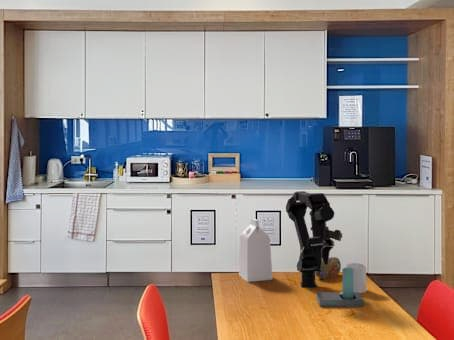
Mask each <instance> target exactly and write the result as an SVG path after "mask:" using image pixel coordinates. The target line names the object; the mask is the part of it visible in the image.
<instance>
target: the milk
mask: <svg viewBox="0 0 454 340" xmlns="http://www.w3.org/2000/svg"><path fill="white" fill-rule="evenodd" d="M271 249H272V248H271V238H270V236H269V235H268V234H267V233H266V232H265V231H264V230H263V229H262V228H261V227H260V222H259V219H256V218H250V223H249V225H248V226H247V227H246V228H245V229H244V230H243V231H242V232H241V233H240V237H239V260H238V263H239V264H238V267H239V268H238V276H239V277H240V276H241V277H240V278H242V279H243V280H244V281H245V282H248V283H251V282H259V281H260V282H261V281H272V280H273V268H272V267H273V265H272V252H271V251H272V250H271Z"/></svg>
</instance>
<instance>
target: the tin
mask: <svg viewBox="0 0 454 340" xmlns="http://www.w3.org/2000/svg"><path fill="white" fill-rule="evenodd" d="M341 266H342V265H341V261H340V259H339V258H338V257H333V256H332V257H331V256H329V260H328V265H325V263H324V261H323V259H322V264H321V267H320V271H315V276H316V277H317V278H318V279H322V280H328V279H330V278H333V277H334V278H335V277H337V276H338V275H339V274H340V271H341Z"/></svg>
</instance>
